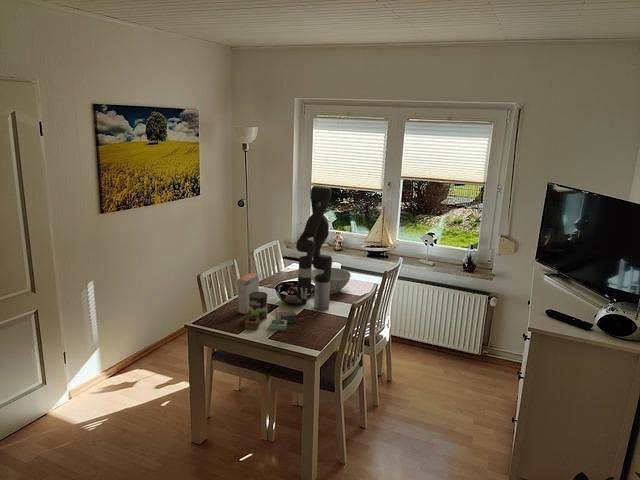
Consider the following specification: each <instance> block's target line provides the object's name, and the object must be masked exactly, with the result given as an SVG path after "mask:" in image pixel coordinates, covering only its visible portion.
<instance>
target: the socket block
mask: <svg viewBox="0 0 640 480" xmlns="http://www.w3.org/2000/svg"><path fill="white" fill-rule="evenodd" d="M260 325H261V321H260V318H257V317H249V316H247V317H246V319H245V321H244V330H254V331H255V330H256V331H258V329H259V328H260Z"/></svg>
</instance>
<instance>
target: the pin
mask: <svg viewBox="0 0 640 480" xmlns="http://www.w3.org/2000/svg"><path fill="white" fill-rule="evenodd" d="M281 312H282V311H281V310H279V309H277V310H275V320H276V324H281Z"/></svg>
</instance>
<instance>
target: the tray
mask: <svg viewBox="0 0 640 480" xmlns="http://www.w3.org/2000/svg"><path fill="white" fill-rule="evenodd" d="M287 327H288V323H287V320H281V324H276V318H273V319H270V322H269V323H268V330H269V331H270V330H271V331H286V329H287Z"/></svg>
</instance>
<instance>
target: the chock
mask: <svg viewBox="0 0 640 480" xmlns="http://www.w3.org/2000/svg"><path fill="white" fill-rule="evenodd" d="M281 320H287V324H292V323H297V314H296V313H295V311H294V310H289V311H283V312H282V311H281Z"/></svg>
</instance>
